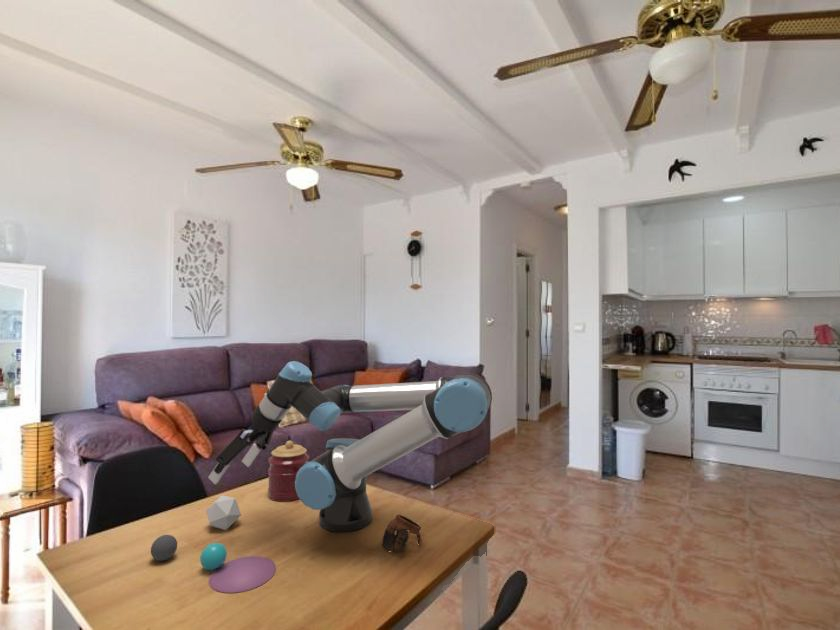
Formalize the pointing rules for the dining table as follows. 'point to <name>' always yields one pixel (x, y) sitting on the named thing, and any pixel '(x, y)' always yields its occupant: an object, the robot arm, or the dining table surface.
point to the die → (223, 512)
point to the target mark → (242, 574)
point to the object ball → (213, 556)
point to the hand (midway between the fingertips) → (229, 471)
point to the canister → (285, 471)
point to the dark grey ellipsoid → (164, 547)
